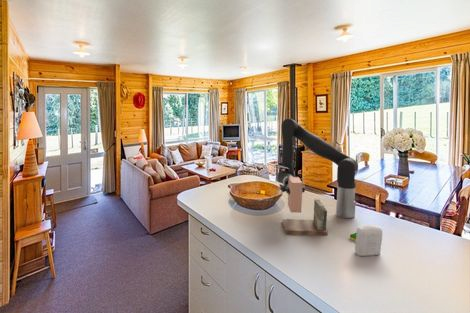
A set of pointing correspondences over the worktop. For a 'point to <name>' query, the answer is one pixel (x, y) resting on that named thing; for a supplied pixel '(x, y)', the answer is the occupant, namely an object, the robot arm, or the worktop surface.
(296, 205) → the terracotta book
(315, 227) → the shelf ledge
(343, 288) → the worktop surface
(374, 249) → the photo printer
